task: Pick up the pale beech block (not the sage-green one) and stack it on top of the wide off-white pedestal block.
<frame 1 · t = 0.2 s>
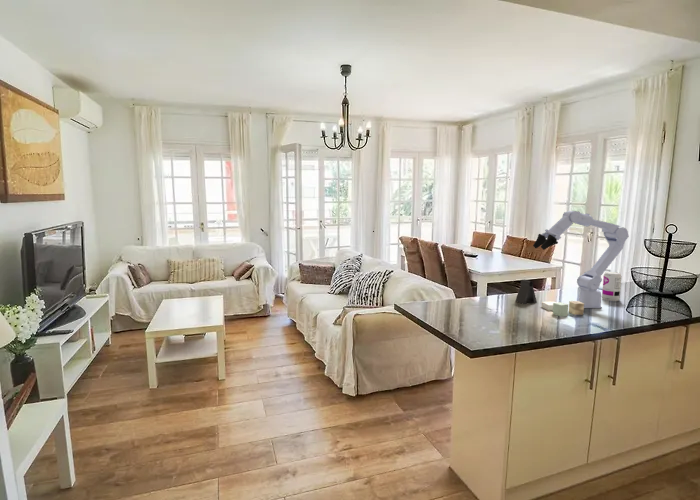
hand: (538, 247, 197), 31 cm above the countertop, tool tilted 45°, fingers open, 7 cm apart
door stopper: (525, 302, 211), on the countertop
beech block: (575, 313, 190), on the countertop
pedestal block: (551, 309, 199), on the countertop
supplement can: (610, 300, 216), on the countertop
sage block: (560, 314, 188), on the countertop
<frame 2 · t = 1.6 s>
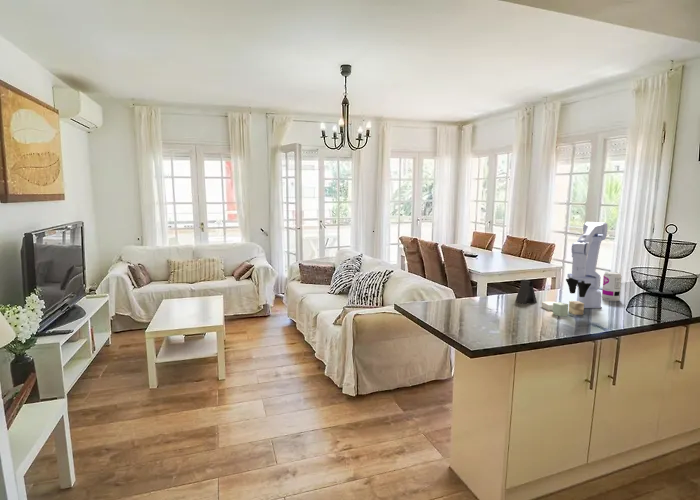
hand: (577, 295, 189), 9 cm above the countertop, tool pointing down, fingers open, 7 cm apart
nothing on the countertop moved.
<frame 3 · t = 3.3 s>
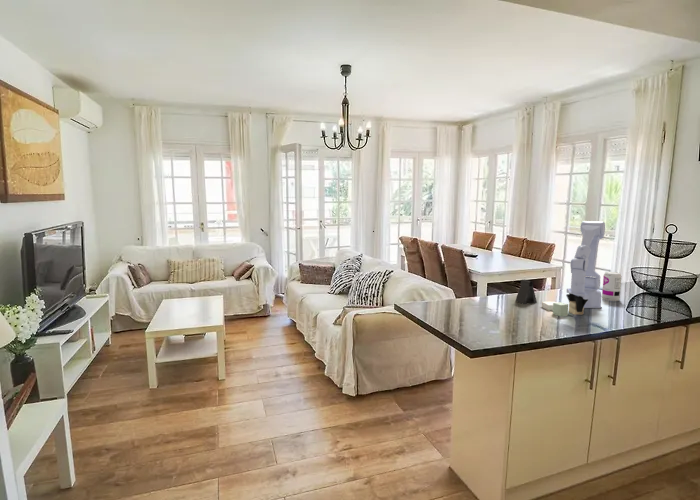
hand: (576, 310, 190), 1 cm above the countertop, tool pointing down, fingers closed on beech block, 4 cm apart
beech block: (575, 313, 190), on the countertop, touching gripper
everything else where it was.
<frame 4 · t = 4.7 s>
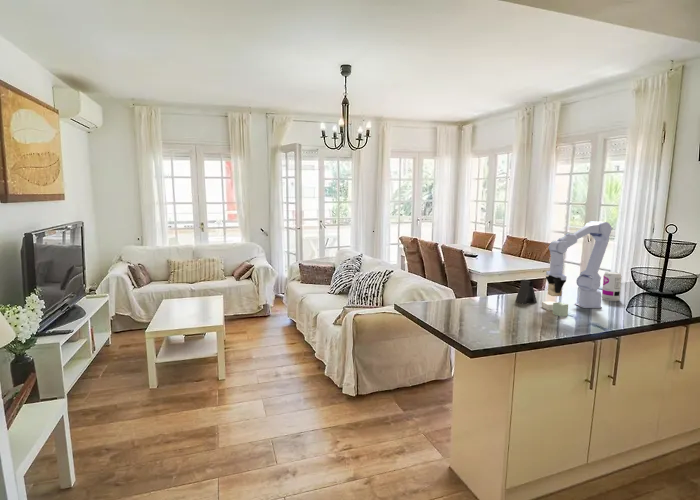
hand: (554, 291, 197), 9 cm above the countertop, tool pointing down, fingers closed on beech block, 5 cm apart
beech block: (554, 295, 197), point 7 cm above the countertop, touching gripper
everything else where it was.
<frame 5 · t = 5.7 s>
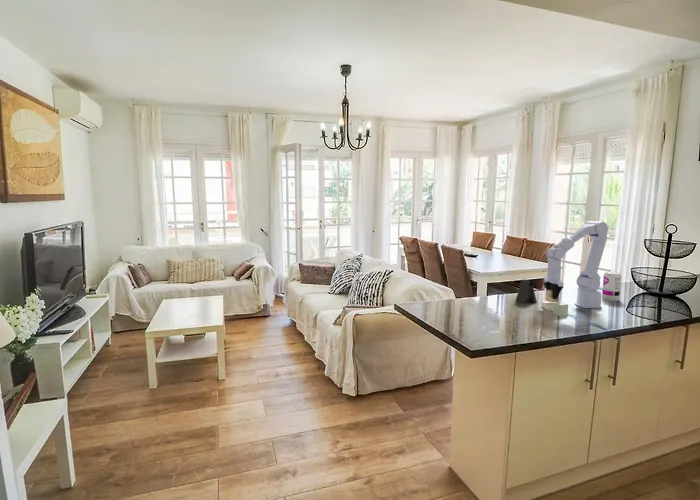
hand: (552, 297, 198), 6 cm above the countertop, tool pointing down, fingers closed on beech block, 4 cm apart
beech block: (552, 301, 198), point 4 cm above the countertop, touching gripper
everything else where it was.
when the fingers open (6 cm above the countertop, at t = 6.3 s): beech block drops 1 cm, resting on pedestal block.
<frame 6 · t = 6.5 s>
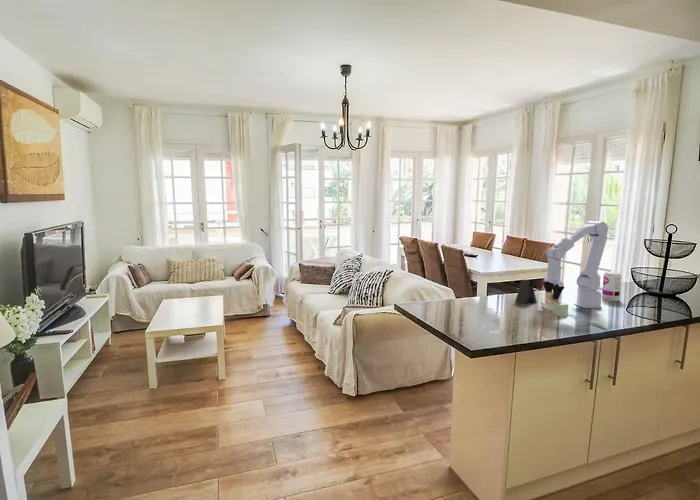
hand: (552, 297, 198), 6 cm above the countertop, tool pointing down, fingers open, 6 cm apart
beech block: (551, 303, 199), point 3 cm above the countertop, touching pedestal block
pedestal block: (551, 309, 199), on the countertop, touching beech block
everything else where it was.
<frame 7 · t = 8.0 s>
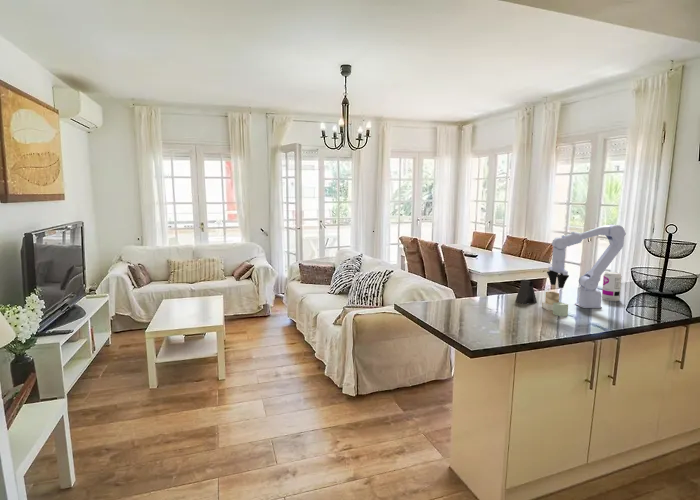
hand: (556, 286, 205), 10 cm above the countertop, tool pointing down, fingers open, 7 cm apart
nothing on the countertop moved.
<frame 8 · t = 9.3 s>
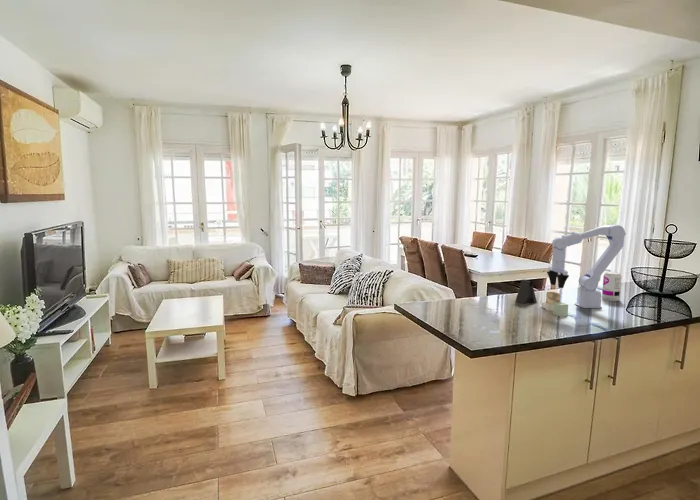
hand: (556, 286, 205), 10 cm above the countertop, tool pointing down, fingers open, 7 cm apart
beech block: (552, 303, 199), point 3 cm above the countertop
pedestal block: (551, 309, 199), on the countertop
everything else where it was.
at the end: beech block 0.5 cm off-centre on the pedestal block, point 3.0 cm above the pedestal block's base; beech block tilted 0°; the gripper is holding nothing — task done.
